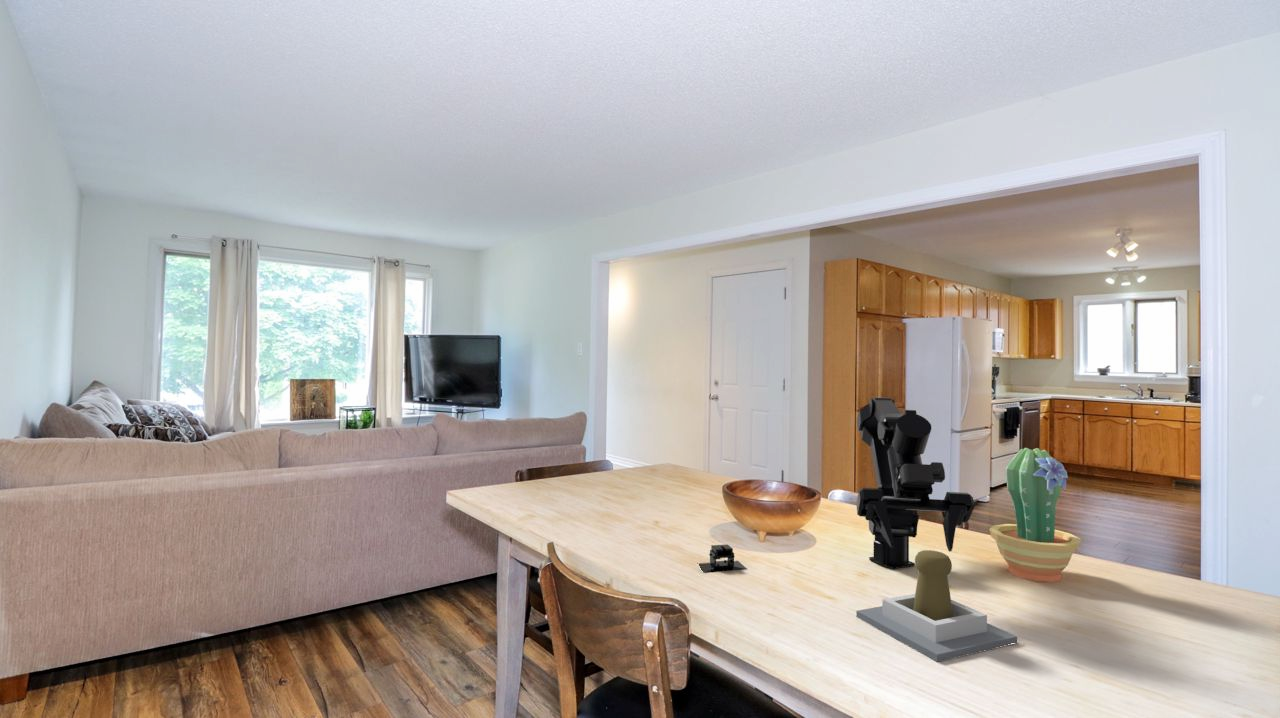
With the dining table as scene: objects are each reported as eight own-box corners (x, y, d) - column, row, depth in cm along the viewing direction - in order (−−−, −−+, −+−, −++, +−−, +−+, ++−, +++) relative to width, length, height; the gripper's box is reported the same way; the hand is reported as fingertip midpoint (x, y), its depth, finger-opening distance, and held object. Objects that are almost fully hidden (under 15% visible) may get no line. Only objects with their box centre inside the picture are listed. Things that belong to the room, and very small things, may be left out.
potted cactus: (993, 580, 116) (993, 450, 116) (986, 557, 130) (986, 441, 130) (1090, 593, 110) (1090, 456, 110) (1072, 568, 123) (1072, 446, 124)
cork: (937, 613, 98) (938, 545, 98) (963, 629, 92) (963, 557, 92) (903, 615, 97) (904, 547, 97) (927, 632, 91) (928, 559, 91)
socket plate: (929, 603, 104) (929, 583, 104) (1017, 643, 89) (1017, 619, 90) (856, 616, 98) (856, 595, 99) (937, 661, 84) (937, 636, 84)
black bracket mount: (698, 577, 118) (698, 554, 118) (687, 565, 125) (687, 543, 125) (757, 573, 121) (757, 550, 121) (742, 561, 128) (742, 539, 128)
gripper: (859, 443, 109) (868, 519, 98) (971, 447, 105) (994, 527, 94) (853, 478, 117) (861, 553, 106) (957, 483, 113) (977, 561, 102)
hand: (921, 548), depth 102 cm, fingers open, 9 cm apart
